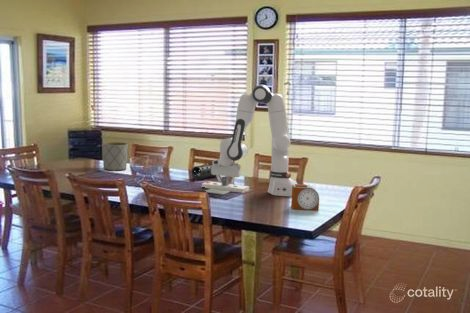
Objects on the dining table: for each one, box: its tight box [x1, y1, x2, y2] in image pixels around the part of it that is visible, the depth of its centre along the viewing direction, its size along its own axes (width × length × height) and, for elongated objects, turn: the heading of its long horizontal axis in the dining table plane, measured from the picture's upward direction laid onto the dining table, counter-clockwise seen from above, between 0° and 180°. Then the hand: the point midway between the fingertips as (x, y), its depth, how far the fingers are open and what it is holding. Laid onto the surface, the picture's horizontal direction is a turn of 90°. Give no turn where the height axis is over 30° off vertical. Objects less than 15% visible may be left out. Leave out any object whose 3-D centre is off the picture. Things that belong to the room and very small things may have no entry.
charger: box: [221, 176, 230, 186], centre depth 350 cm, size 3×4×8 cm
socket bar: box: [201, 180, 250, 194], centre depth 351 cm, size 30×10×3 cm, turn 65°
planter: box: [101, 141, 129, 172], centre depth 408 cm, size 19×19×20 cm
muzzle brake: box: [191, 163, 217, 181], centre depth 388 cm, size 10×28×10 cm, turn 144°
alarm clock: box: [290, 183, 320, 211], centre depth 303 cm, size 15×8×14 cm, turn 90°
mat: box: [205, 188, 231, 195], centre depth 340 cm, size 14×9×1 cm, turn 65°
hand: (225, 182), depth 350 cm, fingers open, 8 cm apart
